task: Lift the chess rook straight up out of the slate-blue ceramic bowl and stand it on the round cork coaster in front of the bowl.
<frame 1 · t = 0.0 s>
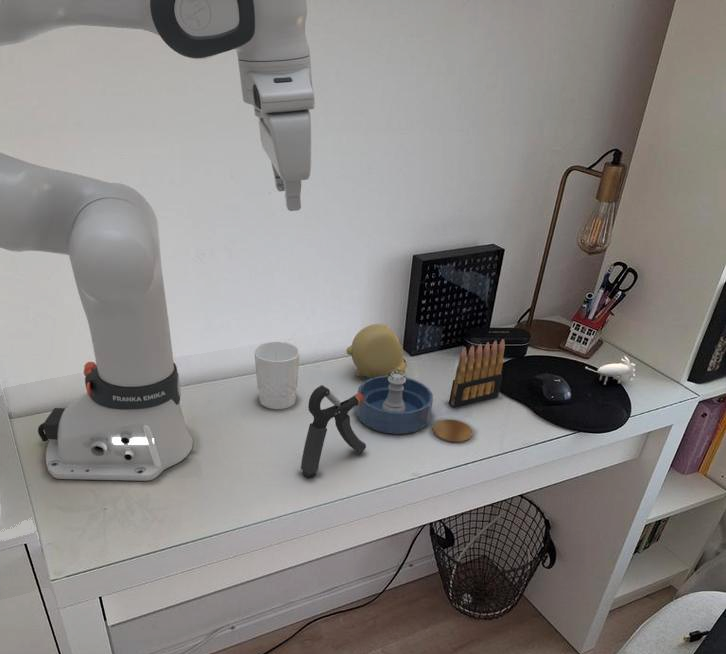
hand: (288, 199, 94), 39 cm above the table, tool pointing down, fingers open, 8 cm apart
ammunition clip: (473, 401, 131), on the table
bowl: (393, 415, 125), on the table
toy pig: (376, 376, 137), on the table
hand grip strengthener: (334, 464, 112), on the table
coaster: (452, 431, 122), on the table
rook chess piece: (393, 414, 125), resting on bowl
white animal figurine: (605, 383, 141), on the table
white cup: (277, 401, 127), on the table
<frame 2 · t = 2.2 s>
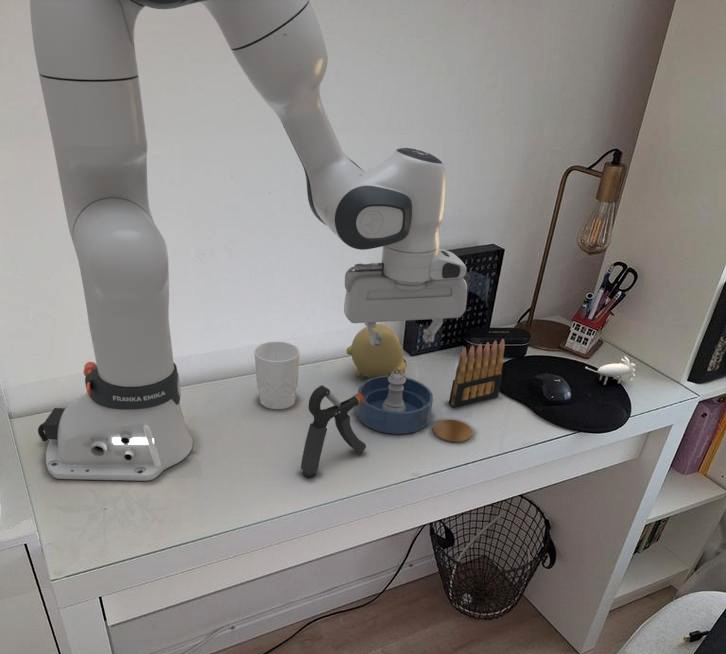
hand: (401, 342, 116), 14 cm above the table, tool pointing down, fingers open, 8 cm apart
nothing on the table moved.
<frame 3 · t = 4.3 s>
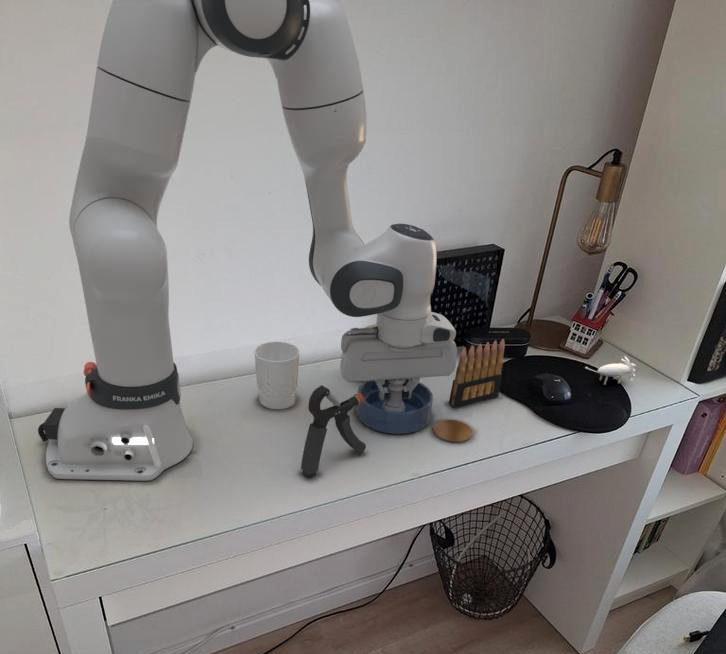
hand: (394, 397, 123), 4 cm above the table, tool pointing down, fingers closed on rook chess piece, 3 cm apart
rook chess piece: (393, 414, 125), resting on bowl, touching gripper
everything else where it was.
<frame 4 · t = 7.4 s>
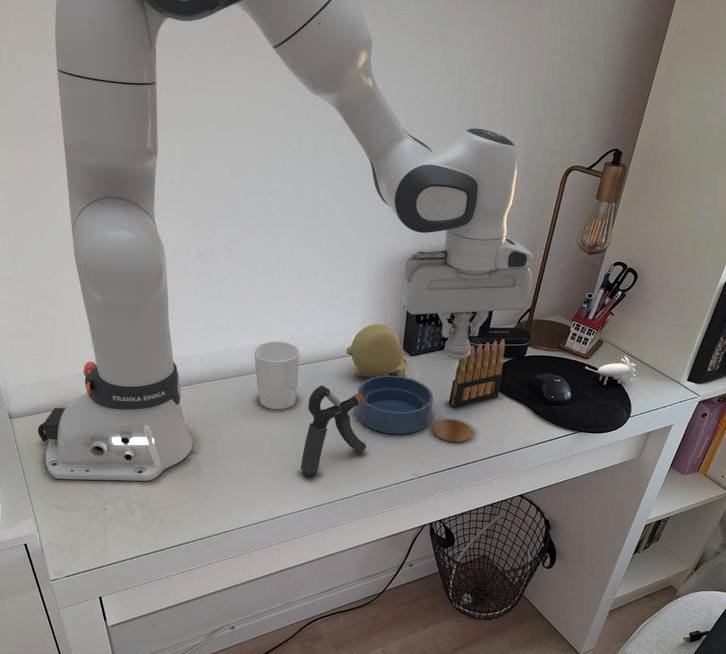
hand: (459, 335, 111), 18 cm above the table, tool pointing down, fingers closed on rook chess piece, 3 cm apart
rook chess piece: (456, 354, 113), point 15 cm above the table, touching gripper
everything else where it was.
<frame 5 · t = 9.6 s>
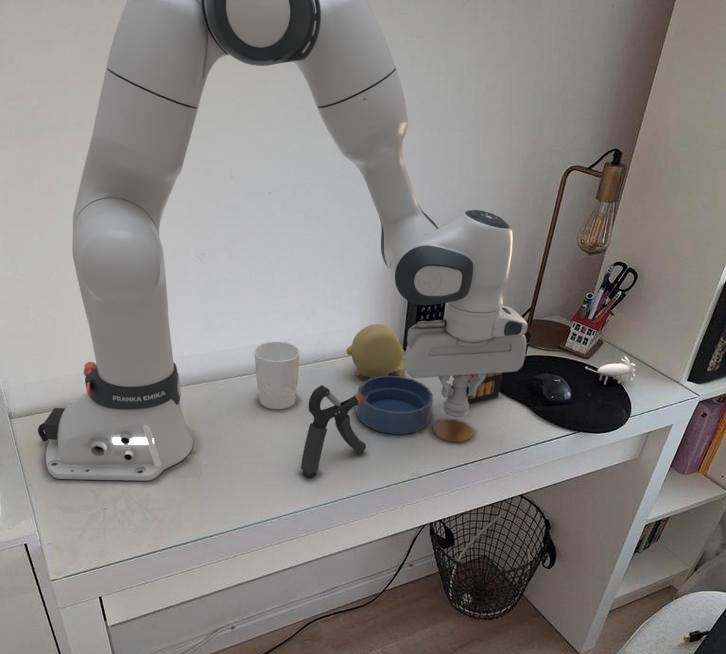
hand: (458, 394, 117), 8 cm above the table, tool pointing down, fingers closed on rook chess piece, 3 cm apart
rook chess piece: (455, 412, 119), point 4 cm above the table, touching gripper
everything else where it was.
when the fingers open (4 cm above the table, at t = 10.8 s): rook chess piece stays where it is, resting on coaster.
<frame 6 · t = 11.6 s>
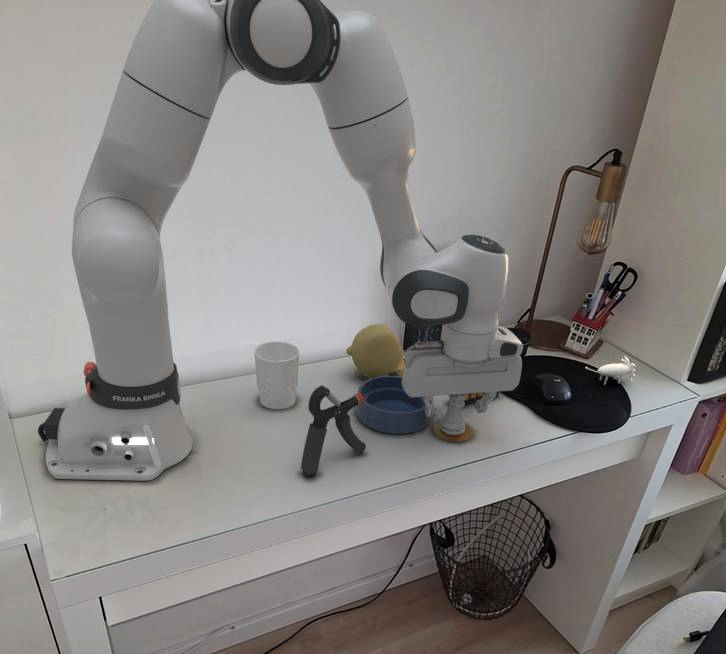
hand: (455, 413, 119), 4 cm above the table, tool pointing down, fingers open, 8 cm apart
rook chess piece: (452, 430, 122), resting on coaster
everything else where it was.
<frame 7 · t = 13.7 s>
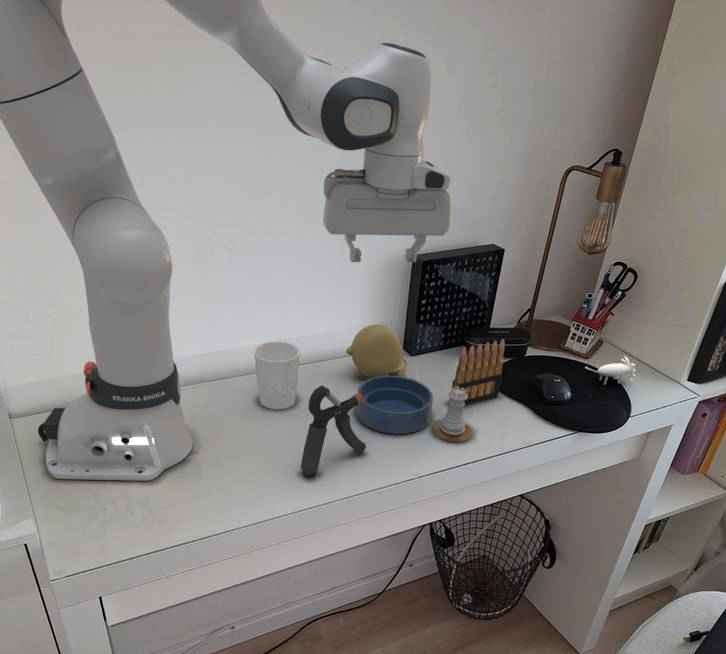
hand: (382, 261, 112), 27 cm above the table, tool pointing down, fingers open, 8 cm apart
nothing on the table moved.
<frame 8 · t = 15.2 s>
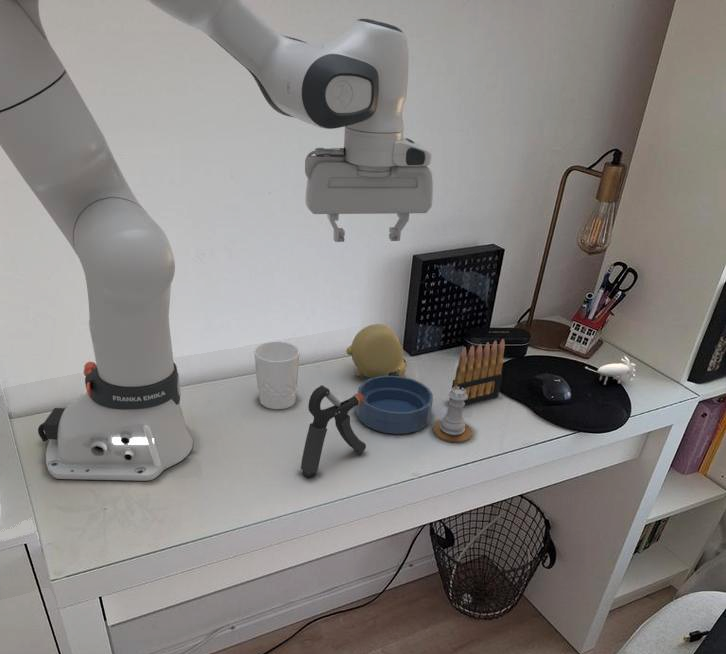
hand: (366, 240, 112), 29 cm above the table, tool pointing down, fingers open, 8 cm apart
nothing on the table moved.
at the end: rook chess piece 0.1 cm off-centre on the coaster, point 0.2 cm above the coaster's base; rook chess piece tilted 0°; rook chess piece touching coaster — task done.
